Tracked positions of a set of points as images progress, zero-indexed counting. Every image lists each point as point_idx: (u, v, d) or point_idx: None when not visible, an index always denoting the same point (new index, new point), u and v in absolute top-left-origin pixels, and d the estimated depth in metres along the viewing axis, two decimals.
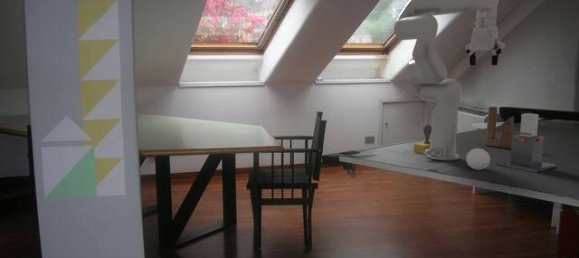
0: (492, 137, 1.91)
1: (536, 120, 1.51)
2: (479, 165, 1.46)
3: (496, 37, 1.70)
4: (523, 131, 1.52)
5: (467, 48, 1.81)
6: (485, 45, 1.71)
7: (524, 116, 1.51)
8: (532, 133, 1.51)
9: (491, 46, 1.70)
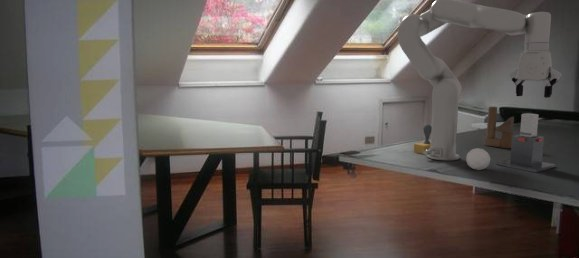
0: (492, 137, 1.91)
1: (536, 120, 1.51)
2: (479, 165, 1.46)
3: (550, 65, 1.45)
4: (523, 131, 1.52)
5: (512, 76, 1.55)
6: (536, 74, 1.46)
7: (524, 116, 1.51)
8: (532, 133, 1.51)
9: (544, 75, 1.44)
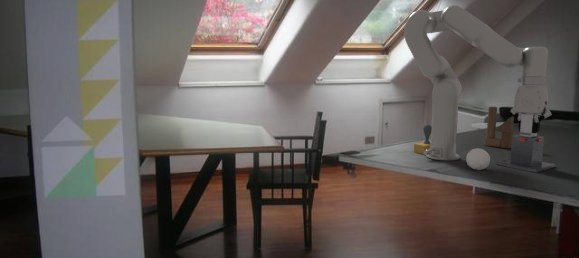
0: (492, 137, 1.91)
1: None
2: (479, 165, 1.46)
3: (546, 99, 1.47)
4: (523, 131, 1.52)
5: (514, 112, 1.56)
6: (532, 108, 1.48)
7: (524, 116, 1.51)
8: (532, 133, 1.51)
9: (540, 109, 1.46)
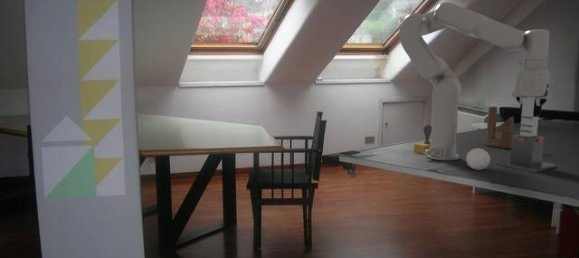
0: (492, 137, 1.91)
1: None
2: (479, 165, 1.46)
3: (547, 82, 1.46)
4: (524, 115, 1.51)
5: (515, 96, 1.55)
6: (534, 91, 1.47)
7: (525, 100, 1.51)
8: (533, 116, 1.50)
9: (541, 92, 1.45)
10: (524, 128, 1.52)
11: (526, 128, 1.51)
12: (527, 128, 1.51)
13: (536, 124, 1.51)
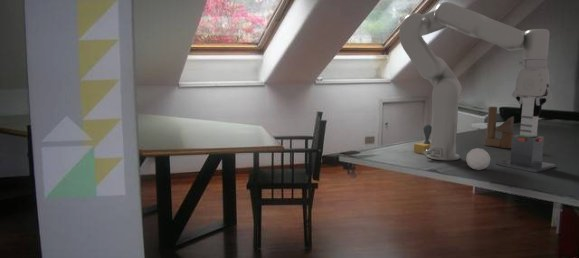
0: (492, 137, 1.91)
1: None
2: (479, 166, 1.46)
3: (547, 81, 1.46)
4: (524, 114, 1.51)
5: (515, 96, 1.55)
6: (534, 90, 1.47)
7: (525, 99, 1.51)
8: (533, 116, 1.50)
9: (542, 92, 1.45)
10: (524, 128, 1.52)
11: (526, 128, 1.51)
12: (527, 128, 1.51)
13: (536, 124, 1.51)
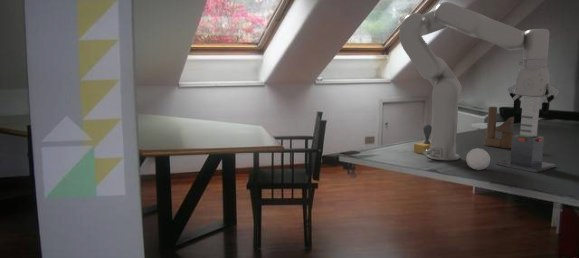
0: (492, 137, 1.91)
1: (538, 103, 1.50)
2: (479, 165, 1.46)
3: (547, 81, 1.46)
4: (524, 114, 1.51)
5: (510, 91, 1.56)
6: (534, 90, 1.47)
7: (525, 99, 1.51)
8: (533, 116, 1.50)
9: (542, 92, 1.45)
10: (524, 128, 1.52)
11: (526, 128, 1.51)
12: (527, 128, 1.51)
13: (536, 124, 1.51)
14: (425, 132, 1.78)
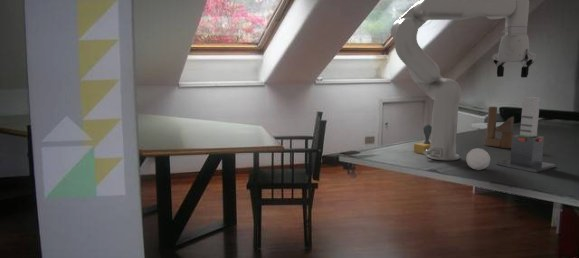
0: (492, 137, 1.91)
1: (538, 103, 1.50)
2: (479, 165, 1.46)
3: (527, 47, 1.57)
4: (524, 114, 1.51)
5: (494, 58, 1.68)
6: (514, 56, 1.59)
7: (525, 99, 1.51)
8: (533, 116, 1.50)
9: (521, 57, 1.57)
10: (524, 128, 1.52)
11: (526, 128, 1.51)
12: (527, 128, 1.51)
13: (536, 124, 1.51)
14: (425, 132, 1.78)
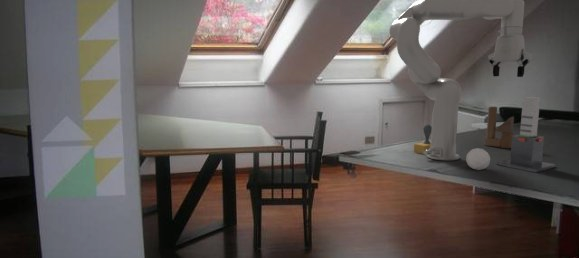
0: (492, 137, 1.91)
1: (538, 103, 1.50)
2: (479, 165, 1.46)
3: (522, 47, 1.60)
4: (524, 114, 1.51)
5: (490, 58, 1.70)
6: (510, 55, 1.61)
7: (525, 99, 1.51)
8: (533, 116, 1.50)
9: (517, 57, 1.59)
10: (524, 128, 1.52)
11: (526, 128, 1.51)
12: (527, 128, 1.51)
13: (536, 124, 1.51)
14: (425, 132, 1.78)
